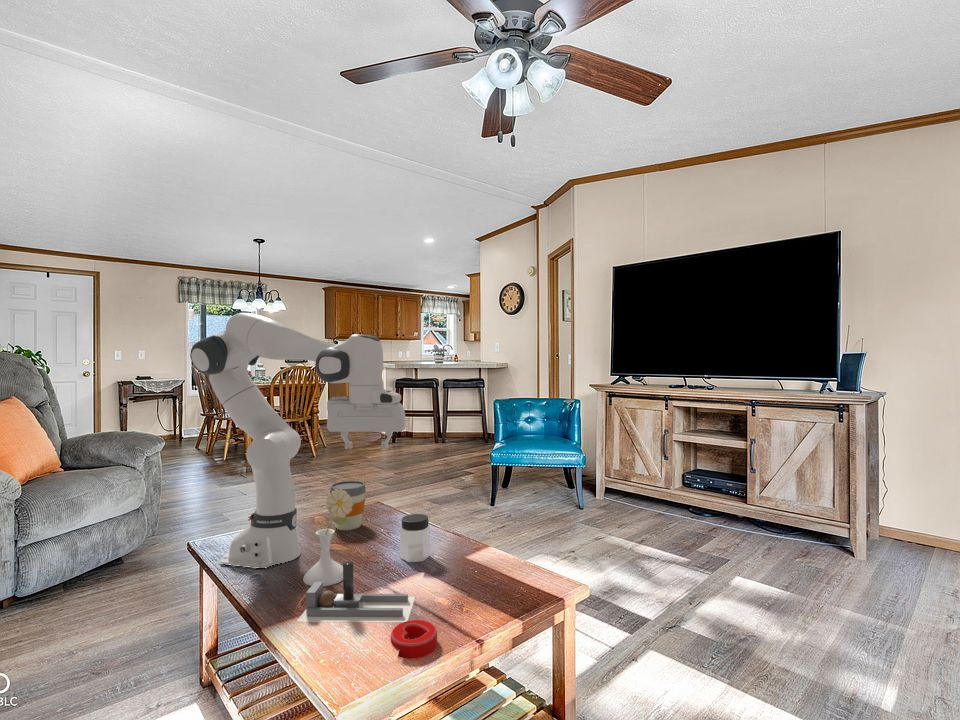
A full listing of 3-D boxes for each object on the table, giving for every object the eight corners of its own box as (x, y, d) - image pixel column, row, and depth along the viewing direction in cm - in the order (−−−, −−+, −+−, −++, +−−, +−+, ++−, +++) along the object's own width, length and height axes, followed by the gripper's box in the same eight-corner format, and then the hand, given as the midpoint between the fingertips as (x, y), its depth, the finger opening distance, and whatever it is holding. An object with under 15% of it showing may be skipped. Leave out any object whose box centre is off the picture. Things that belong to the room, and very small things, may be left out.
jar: (434, 558, 148) (434, 518, 148) (411, 565, 143) (411, 524, 143) (418, 549, 155) (418, 511, 155) (396, 556, 150) (396, 517, 150)
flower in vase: (306, 596, 125) (305, 498, 125) (300, 578, 135) (299, 488, 135) (357, 585, 131) (357, 491, 131) (348, 569, 141) (347, 482, 141)
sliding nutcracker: (296, 628, 110) (296, 599, 110) (315, 601, 122) (315, 575, 122) (407, 628, 109) (407, 599, 109) (415, 602, 121) (415, 576, 121)
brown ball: (317, 613, 114) (314, 596, 114) (323, 605, 118) (320, 588, 118) (334, 611, 113) (331, 594, 113) (339, 602, 117) (337, 586, 117)
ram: (333, 610, 114) (333, 566, 114) (338, 603, 117) (337, 560, 117) (359, 610, 114) (358, 566, 114) (362, 604, 117) (362, 560, 117)
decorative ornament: (444, 651, 101) (444, 636, 101) (399, 665, 96) (399, 649, 96) (426, 628, 109) (426, 614, 109) (384, 640, 105) (384, 626, 105)
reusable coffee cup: (323, 531, 173) (323, 488, 173) (339, 519, 185) (339, 480, 185) (357, 532, 171) (357, 490, 171) (371, 521, 183) (370, 481, 183)
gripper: (322, 397, 124) (323, 451, 124) (402, 396, 124) (402, 450, 124) (331, 395, 131) (331, 446, 131) (406, 394, 130) (407, 446, 130)
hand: (366, 448), depth 127 cm, fingers open, 8 cm apart
